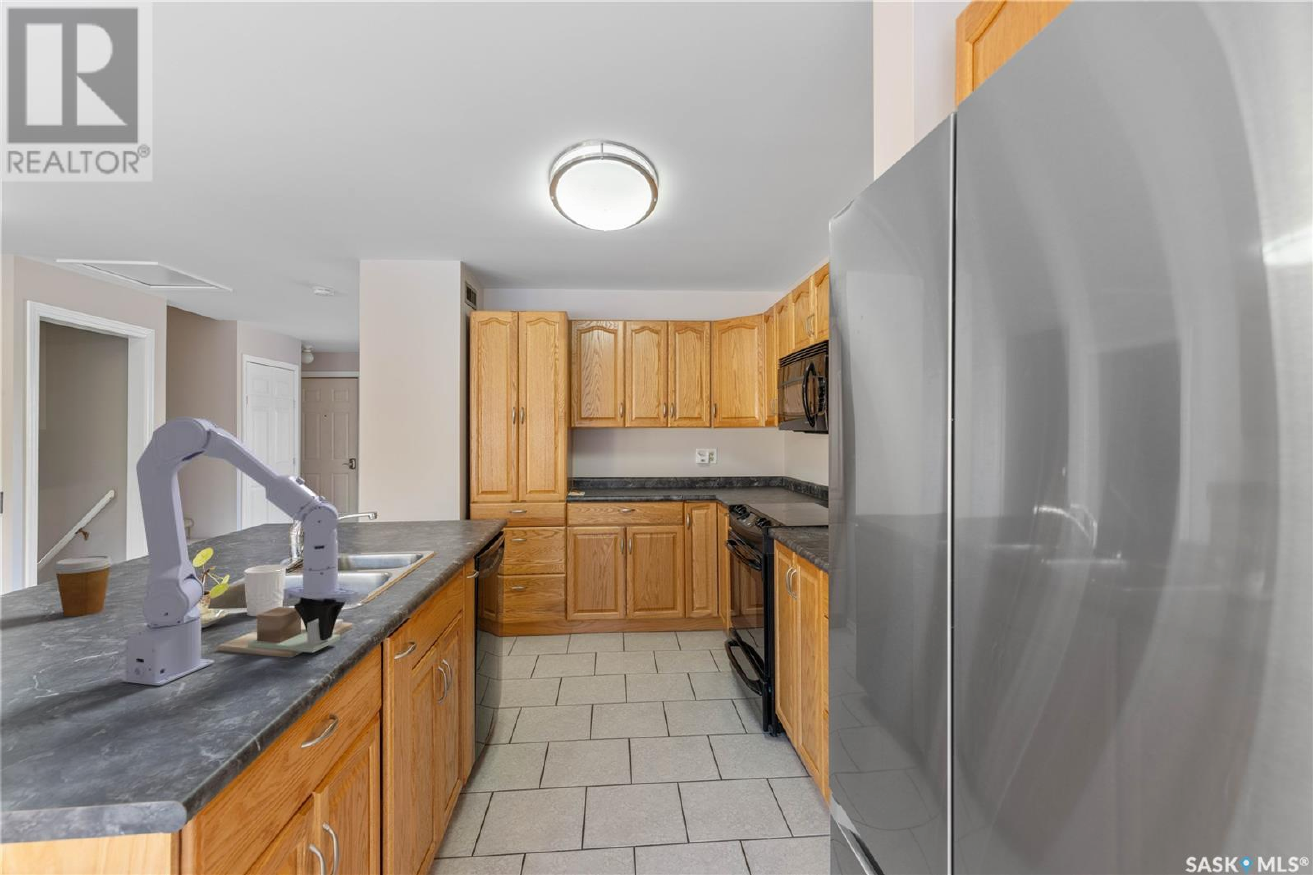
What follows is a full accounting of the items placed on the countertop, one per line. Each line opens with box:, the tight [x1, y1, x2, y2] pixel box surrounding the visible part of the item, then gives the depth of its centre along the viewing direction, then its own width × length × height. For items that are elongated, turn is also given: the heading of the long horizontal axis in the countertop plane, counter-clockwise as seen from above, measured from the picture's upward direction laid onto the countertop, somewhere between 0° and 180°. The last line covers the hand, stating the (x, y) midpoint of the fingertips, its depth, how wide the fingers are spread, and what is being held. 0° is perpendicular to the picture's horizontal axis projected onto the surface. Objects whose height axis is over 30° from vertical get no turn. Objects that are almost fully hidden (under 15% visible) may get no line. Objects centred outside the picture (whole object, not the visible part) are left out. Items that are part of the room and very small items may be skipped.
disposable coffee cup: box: [52, 554, 114, 618], centre depth 127 cm, size 10×10×12 cm
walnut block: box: [256, 606, 301, 643], centre depth 109 cm, size 5×5×5 cm
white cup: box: [243, 564, 287, 617], centre depth 129 cm, size 8×8×10 cm
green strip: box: [248, 619, 341, 653], centre depth 108 cm, size 7×14×5 cm, turn 79°
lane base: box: [218, 622, 354, 658], centre depth 113 cm, size 16×16×1 cm
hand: (320, 638), depth 107 cm, fingers closed on green strip, 2 cm apart
